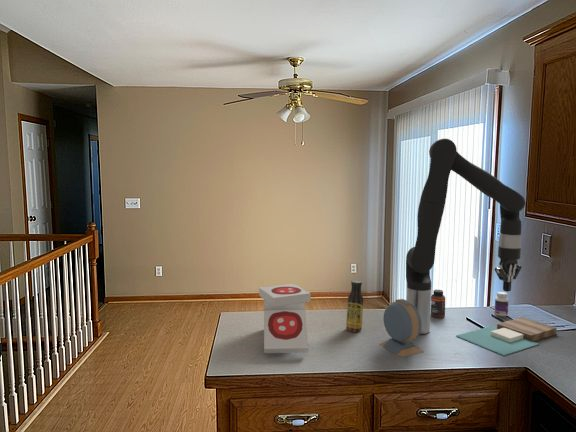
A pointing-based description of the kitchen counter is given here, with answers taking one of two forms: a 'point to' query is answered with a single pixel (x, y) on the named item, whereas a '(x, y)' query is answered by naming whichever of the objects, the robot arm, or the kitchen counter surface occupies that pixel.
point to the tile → (507, 335)
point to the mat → (495, 341)
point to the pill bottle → (501, 304)
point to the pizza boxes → (285, 318)
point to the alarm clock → (402, 328)
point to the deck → (528, 328)
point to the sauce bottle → (355, 308)
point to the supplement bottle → (438, 304)
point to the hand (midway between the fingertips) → (506, 290)
